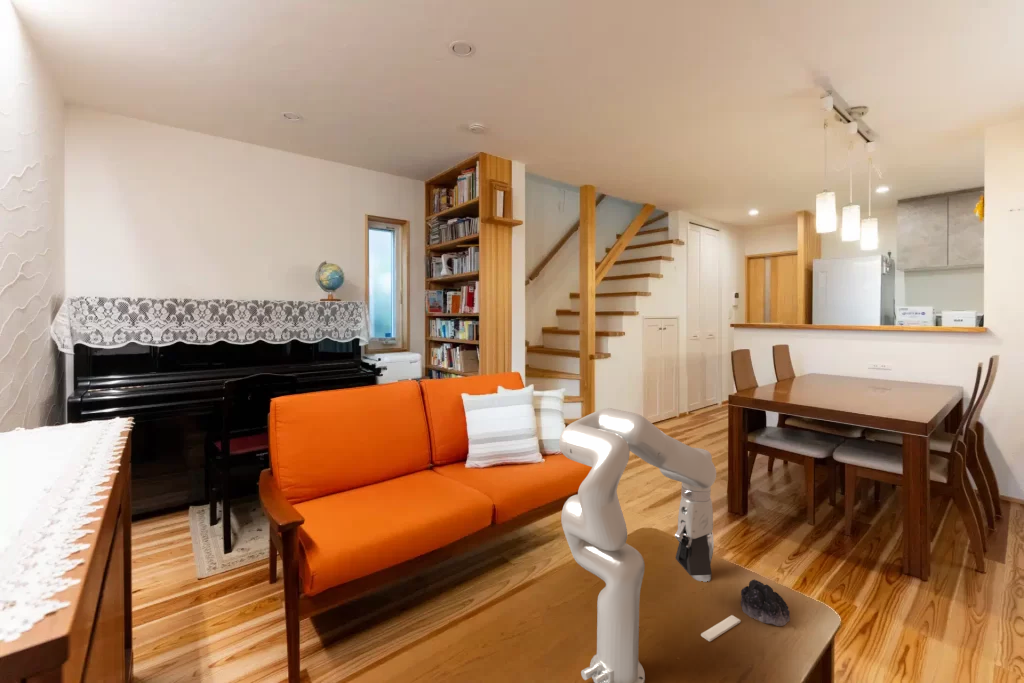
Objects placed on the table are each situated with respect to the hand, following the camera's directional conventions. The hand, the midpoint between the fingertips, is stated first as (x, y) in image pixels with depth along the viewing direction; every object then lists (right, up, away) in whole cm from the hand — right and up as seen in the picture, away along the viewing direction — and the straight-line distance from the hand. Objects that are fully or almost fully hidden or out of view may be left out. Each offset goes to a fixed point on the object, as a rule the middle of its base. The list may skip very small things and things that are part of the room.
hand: (693, 555), depth 125 cm
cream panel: (+6, -17, -5) cm, 19 cm away
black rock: (+21, -17, +2) cm, 27 cm away
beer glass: (+10, -16, +19) cm, 27 cm away
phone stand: (0, -3, 0) cm, 3 cm away
